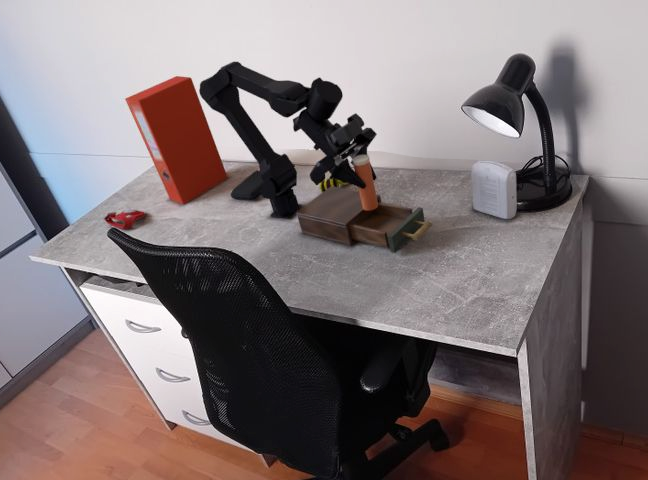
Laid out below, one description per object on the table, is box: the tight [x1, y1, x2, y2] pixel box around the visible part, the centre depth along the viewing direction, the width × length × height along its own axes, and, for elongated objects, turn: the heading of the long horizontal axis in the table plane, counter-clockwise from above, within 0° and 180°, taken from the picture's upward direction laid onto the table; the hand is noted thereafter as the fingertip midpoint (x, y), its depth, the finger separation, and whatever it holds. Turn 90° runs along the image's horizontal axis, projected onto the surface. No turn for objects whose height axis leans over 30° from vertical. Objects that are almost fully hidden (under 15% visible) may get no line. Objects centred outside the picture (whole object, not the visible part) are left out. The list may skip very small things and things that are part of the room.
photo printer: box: [470, 160, 518, 220], centre depth 121 cm, size 10×4×12 cm, turn 42°
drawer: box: [348, 201, 433, 254], centre depth 123 cm, size 19×12×4 cm, turn 51°
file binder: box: [124, 75, 228, 205], centre depth 160 cm, size 8×17×32 cm, turn 138°
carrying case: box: [230, 170, 264, 202], centre depth 159 cm, size 11×3×15 cm
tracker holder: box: [102, 209, 146, 230], centre depth 159 cm, size 12×4×10 cm
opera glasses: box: [318, 173, 349, 194], centre depth 150 cm, size 10×5×5 cm, turn 149°
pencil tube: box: [351, 154, 378, 211], centre depth 120 cm, size 4×4×12 cm
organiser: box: [295, 186, 383, 247], centre depth 132 cm, size 16×14×6 cm
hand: (370, 183), depth 119 cm, fingers closed on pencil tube, 3 cm apart
